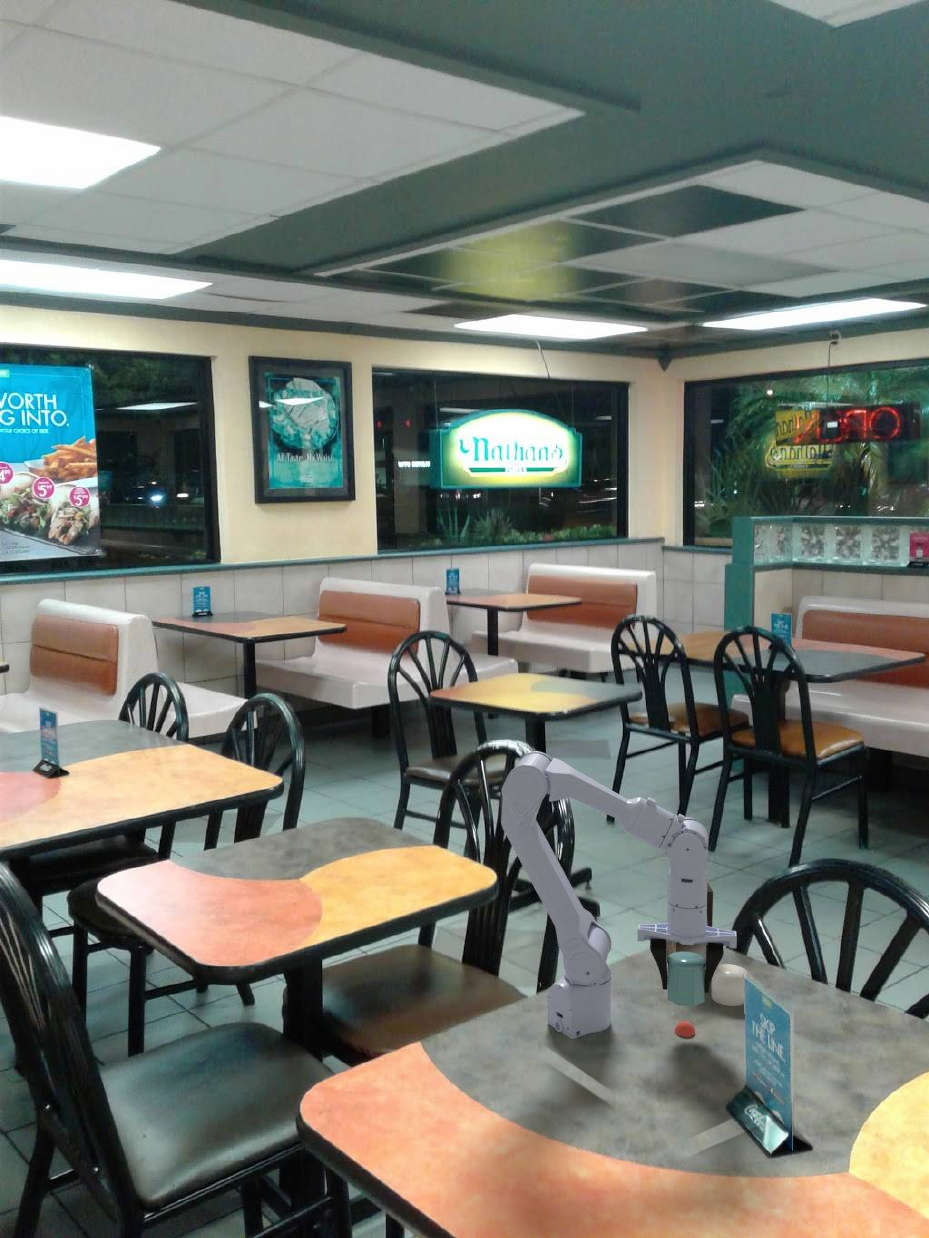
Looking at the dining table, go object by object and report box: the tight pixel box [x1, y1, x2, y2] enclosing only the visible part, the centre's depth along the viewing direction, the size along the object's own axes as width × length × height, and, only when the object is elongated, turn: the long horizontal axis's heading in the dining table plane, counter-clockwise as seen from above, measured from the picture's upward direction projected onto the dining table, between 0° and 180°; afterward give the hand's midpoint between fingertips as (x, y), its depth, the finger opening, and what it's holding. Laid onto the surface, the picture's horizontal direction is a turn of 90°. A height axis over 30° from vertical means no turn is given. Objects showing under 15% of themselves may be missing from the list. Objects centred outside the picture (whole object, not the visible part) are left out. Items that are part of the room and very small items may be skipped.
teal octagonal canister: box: [667, 952, 706, 1007], centre depth 166 cm, size 6×6×6 cm
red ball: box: [674, 1020, 696, 1038], centre depth 167 cm, size 3×3×3 cm
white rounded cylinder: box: [711, 963, 749, 1007], centre depth 178 cm, size 6×6×6 cm
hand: (685, 988), depth 166 cm, fingers closed on teal octagonal canister, 5 cm apart
